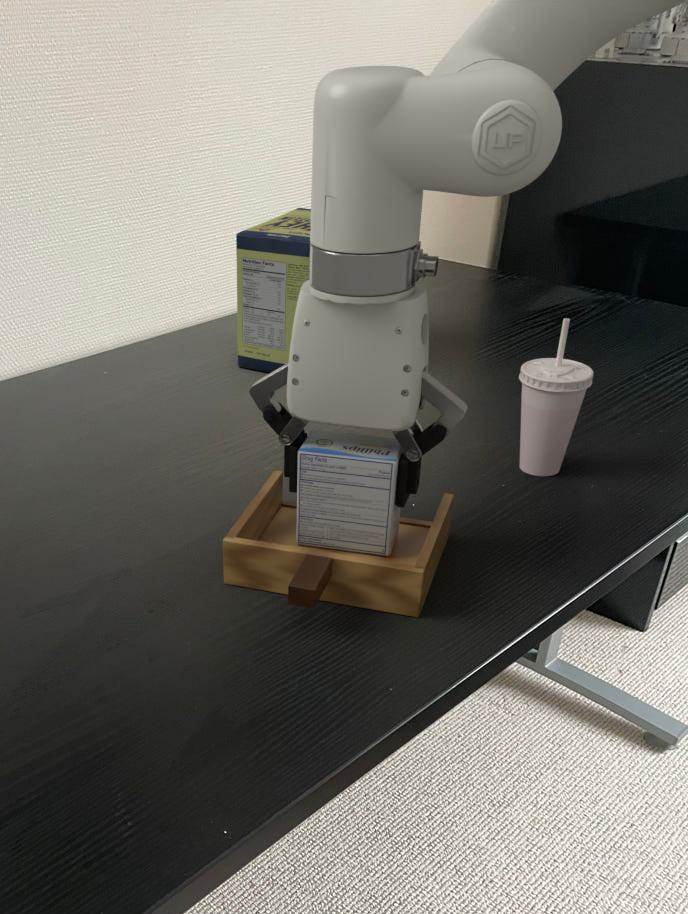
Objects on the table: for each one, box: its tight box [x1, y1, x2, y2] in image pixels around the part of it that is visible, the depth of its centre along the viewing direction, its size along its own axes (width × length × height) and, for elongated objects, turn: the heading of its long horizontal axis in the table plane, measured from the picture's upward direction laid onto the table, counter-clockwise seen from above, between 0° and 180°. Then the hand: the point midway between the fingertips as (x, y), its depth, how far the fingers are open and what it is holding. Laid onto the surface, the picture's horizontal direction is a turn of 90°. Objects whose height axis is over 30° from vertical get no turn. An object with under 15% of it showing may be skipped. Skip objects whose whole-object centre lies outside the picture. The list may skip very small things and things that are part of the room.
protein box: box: [235, 207, 311, 374], centre depth 118 cm, size 10×16×16 cm
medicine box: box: [296, 429, 403, 556], centre depth 79 cm, size 8×4×9 cm, turn 71°
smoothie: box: [518, 317, 594, 477], centre depth 90 cm, size 6×6×14 cm
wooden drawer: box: [222, 470, 455, 618], centre depth 78 cm, size 16×18×4 cm
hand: (349, 491), depth 79 cm, fingers closed on medicine box, 8 cm apart
